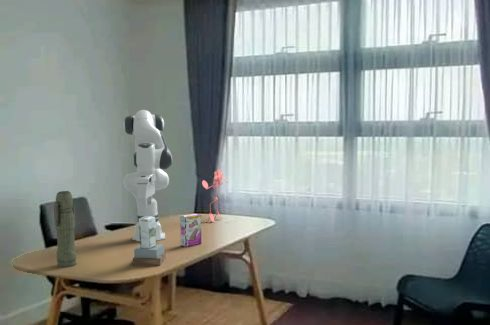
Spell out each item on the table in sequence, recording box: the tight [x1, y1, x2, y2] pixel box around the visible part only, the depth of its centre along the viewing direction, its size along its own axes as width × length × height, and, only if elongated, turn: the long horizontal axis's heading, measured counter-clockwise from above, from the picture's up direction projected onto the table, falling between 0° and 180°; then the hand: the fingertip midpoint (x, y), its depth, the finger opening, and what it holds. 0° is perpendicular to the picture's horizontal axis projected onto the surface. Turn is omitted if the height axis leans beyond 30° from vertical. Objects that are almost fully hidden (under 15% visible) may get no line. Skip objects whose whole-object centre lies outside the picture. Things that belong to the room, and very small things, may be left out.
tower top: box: [133, 243, 165, 258], centre depth 264 cm, size 11×11×4 cm
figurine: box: [201, 168, 229, 224], centre depth 365 cm, size 15×26×35 cm, turn 152°
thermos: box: [53, 190, 78, 268], centre depth 260 cm, size 9×12×35 cm
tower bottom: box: [132, 251, 167, 267], centre depth 264 cm, size 13×13×4 cm
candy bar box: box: [179, 213, 202, 248], centre depth 298 cm, size 11×5×16 cm, turn 135°
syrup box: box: [139, 216, 158, 249], centre depth 262 cm, size 6×6×14 cm
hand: (147, 206), depth 263 cm, fingers open, 8 cm apart
